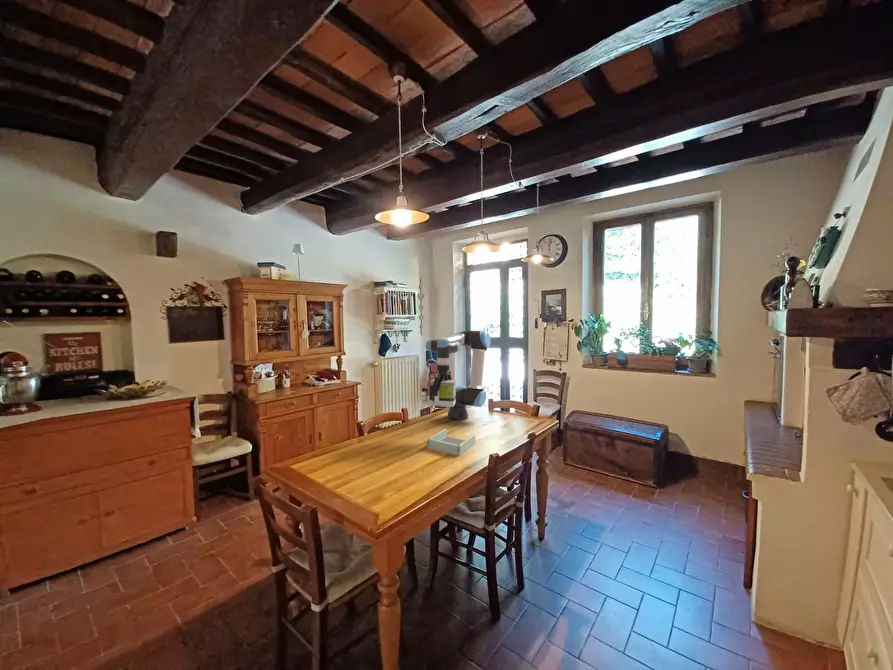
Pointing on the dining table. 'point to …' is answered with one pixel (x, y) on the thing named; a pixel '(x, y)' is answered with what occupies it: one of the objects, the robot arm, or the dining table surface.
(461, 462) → the dining table surface
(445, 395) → the tea box
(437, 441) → the grey tray
